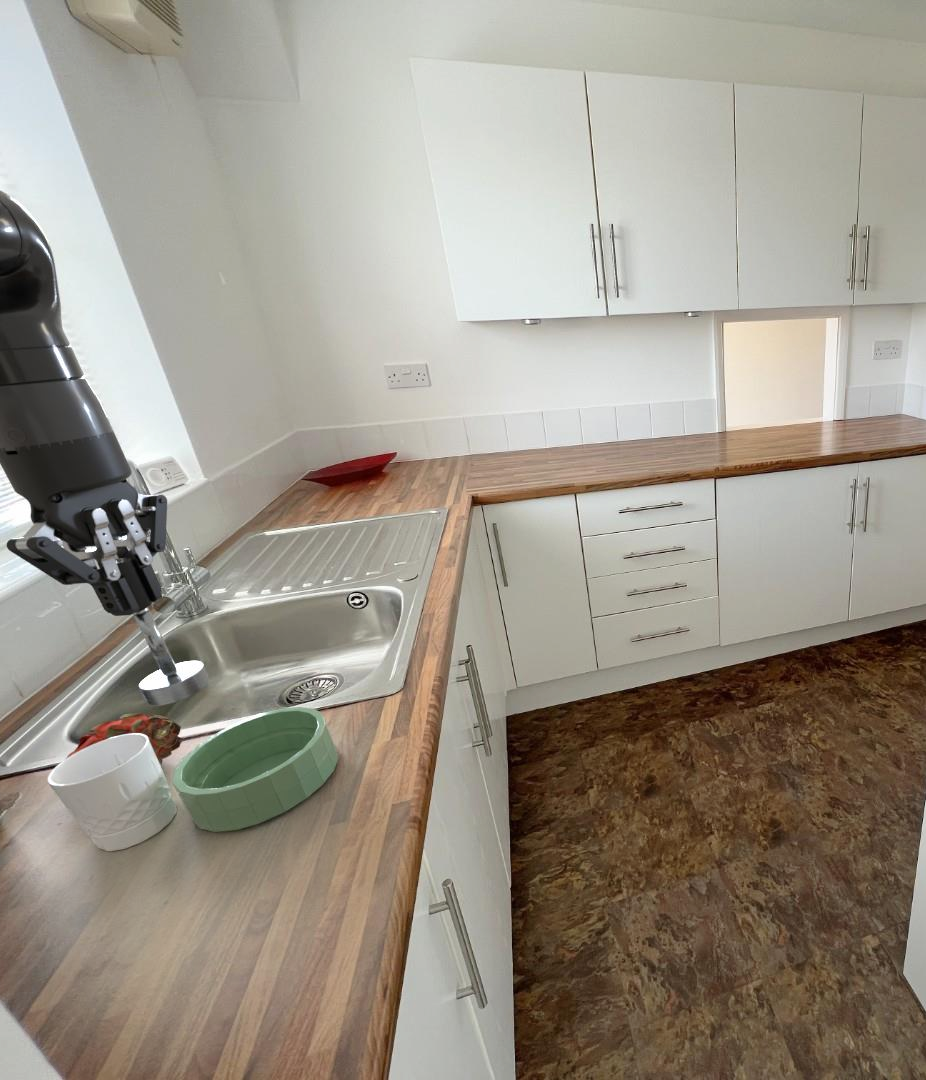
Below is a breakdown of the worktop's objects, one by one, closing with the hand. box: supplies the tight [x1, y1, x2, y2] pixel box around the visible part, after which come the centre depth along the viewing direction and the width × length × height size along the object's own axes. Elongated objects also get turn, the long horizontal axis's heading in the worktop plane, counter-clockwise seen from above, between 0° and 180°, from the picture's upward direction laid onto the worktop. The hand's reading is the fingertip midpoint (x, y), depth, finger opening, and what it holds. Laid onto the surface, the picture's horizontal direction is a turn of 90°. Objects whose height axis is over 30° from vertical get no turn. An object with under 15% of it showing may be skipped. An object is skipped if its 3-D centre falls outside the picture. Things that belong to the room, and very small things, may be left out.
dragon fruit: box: [63, 713, 184, 765], centre depth 74 cm, size 8×8×12 cm
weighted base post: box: [115, 558, 211, 707], centre depth 59 cm, size 5×5×15 cm
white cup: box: [46, 733, 178, 852], centre depth 65 cm, size 8×8×10 cm
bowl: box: [172, 706, 339, 833], centre depth 70 cm, size 15×15×6 cm
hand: (138, 606), depth 58 cm, fingers closed on weighted base post
